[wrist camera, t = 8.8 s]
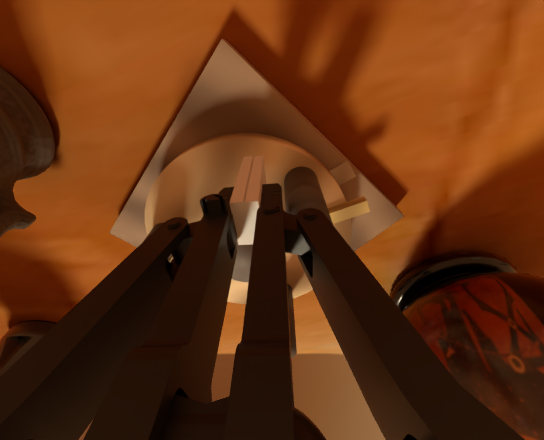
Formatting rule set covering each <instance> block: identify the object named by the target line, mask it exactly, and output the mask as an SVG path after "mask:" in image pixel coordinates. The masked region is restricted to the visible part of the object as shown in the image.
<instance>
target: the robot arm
mask: <svg viewBox="0 0 544 440" xmlns="http://www.w3.org/2000/svg"><path fill="white" fill-rule="evenodd" d="M200 205H201V208H202V211H203V217H202V219H201V220H200V221H197V222H193V223H188V221H187V219H186V218H183V217H175V218H171V219H169V220H167V221H166V222H164V223H163V224H162V225H161V226H160V227H158V228H157V229H156V230H155V231H154V232H153V233H152V234H151V235H150V236H149V237H148V238H147V239H146V240H145V241H144V242H143V243H142V244H140V245H139V246H138V247H137V248H136V249H135V250H134V251H133V252H132V253H131V254H130V255H129V256H128V257H127V258H126V259H125V260H124V261H122V262H121V263H120V264H119V265H118V266H117V267H116V268H115V269H114V270H113V271H112V272H111V273H110V274H109V275H108V276H107V277H105V278H104V279H103V280H102V281H101V282H100V283H99V284H98V285H97V286H96V287H95V288H94V289H93V290H92V291H91V292H90V293H89V294H87V295H86V296H85V297H84V298H83V299H82V300H81V301H80V302H79V303H78V304H77V305H76V306H75V307H74V308H73V309H72V310H71V311H69V312H68V313H67V314H66V315H65V316H64V317H63V318H62V319H61V320H60V321H59V322H58V323H57V324H55V323H50V322H43V321H26V322H21V323H18V324H16V325H14V326H13V327H12V328H11V329H10V330H9V331H8V332H7V333H6V334H5V335H4V336H3V337H2V338H1V340H0V440H78V439H79V438H80V436H81V435H82V434H83V432H84V431H85V430H86V428H87V427H88V425H89V424H90V423H91V421H92V420H93V421H92V423H91V425H90V428H89V429H88V431H87V433H86V435H85V437H84V439H83V440H326V439H325V437H324V436H323V434H322V433H321V432H320V430H319V429H318V428H317V427H316V425H315V424H314V423H313V422H312V421H311V420H310V419H309V418H308V417H307V416H306V415H305V414H304V413H302V412H301V411H299V410H298V409H296V408H295V407H294V396H293V380H292V362H291V343H290V325H289V306H288V288H287V270H286V253H291V254H296V255H298V259H299V261H300V263H301V265H302V267H303V270H304V272H305V274H306V276H307V278H308V280H309V282H310V284H311V286H312V288H313V291H314V293H315V295H316V297H317V299H318V301H319V303H320V305H321V307H322V309H323V312H324V314H325V316H326V318H327V320H328V322H329V324H330V326H331V328H332V331H333V333H334V335H335V337H336V339H337V341H338V343H339V345H340V347H341V349H342V352H343V354H344V356H345V358H346V360H347V361H348V364H349V366H350V368H351V370H352V372H353V375H354V377H355V379H356V381H357V383H358V385H359V387H360V389H361V391H362V394H363V396H364V398H365V400H366V402H367V404H368V406H369V408H370V410H371V412H372V414H373V416H374V418H375V420H376V422H377V424H378V426H379V428H380V430H381V432H382V433H383V435H384V437H385V439H386V440H525V439H524V438H523V437H521V436H520V435H519V434H518V433H517V432H516V431H514V430H513V429H512V428H511V427H510V426H508V425H507V424H506V423H505V422H504V421H502V420H501V419H500V418H499V417H498V416H496V415H495V414H494V413H493V412H492V411H490V410H489V409H488V408H487V407H486V406H485V405H483V404H482V403H481V402H480V401H479V400H477V399H476V398H475V397H474V396H473V395H471V394H470V393H469V392H468V391H467V390H465V389H464V388H463V387H462V386H461V385H459V384H458V382H457V381H456V380H455V378H454V377H453V376H452V375H451V373H450V372H449V371H448V370H447V368H446V367H445V366H444V365H443V363H442V362H441V361H440V360H439V358H438V357H437V356H436V354H435V353H434V352H433V351H432V349H431V348H430V347H429V346H428V344H427V343H426V342H425V341H424V339H423V338H422V337H421V336H420V334H419V333H418V332H417V330H416V329H415V328H414V327H413V325H412V324H411V323H410V322H409V320H408V319H407V318H406V317H405V315H404V314H403V313H402V312H401V310H400V309H399V308H398V306H397V305H396V304H395V303H394V301H393V300H392V299H391V298H390V296H389V295H388V294H387V293H386V291H385V290H384V289H383V288H382V286H381V285H380V284H379V282H378V281H377V280H376V279H375V277H374V276H373V275H372V274H371V272H370V271H369V270H368V269H367V267H366V266H365V265H364V264H363V262H362V261H361V260H360V258H359V257H358V256H357V255H356V253H355V252H354V251H353V250H352V248H351V247H350V246H349V245H348V243H347V242H346V241H345V240H344V238H343V237H342V236H341V234H340V233H339V232H338V231H337V229H336V228H335V227H334V226H333V224H332V223H331V222H330V221H329V219H328V218H327V217H326V216H325V214H324V213H323V212H322V211H321V210H318V209H315V208H305V209H302V210H300V211H299V212H298V213H297V215H293V214H289V213H287V212H285V211H284V210H283V201H282V187H281V186H280V185H279V184H278V183H273V184H266V174H265V165H264V155H260V156H247V157H244V158H243V161H242V164H241V168H240V171H239V174H238V177H237V180H236V183H235V187H225V188H223V189H222V190H221V191H219V194H210V195H207V196H205V197H203V198H201V200H200ZM236 240H237V241H238V245H250V244H253V248H252V257H251V265H250V274H249V282H248V291H247V299H246V308H245V316H244V325H243V333H242V340H241V343H239V344H238V345H237V348H236V353H235V359H234V367H233V374H232V381H231V388H230V396H229V397H226V398H223V399H220V400H217V401H214V402H212V394H211V383H212V377H213V372H214V367H215V362H216V357H217V351H218V346H219V341H220V336H221V331H222V326H223V321H224V316H225V311H226V306H227V300H228V295H229V290H230V285H231V280H232V275H233V270H234V265H235V260H236V255H237V247H236ZM170 255H172V257H173V259H172V260H171V261H170V262H169V261H168V259H167V258H168V257H169V256H170Z"/></svg>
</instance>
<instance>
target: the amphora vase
mask: <svg viewBox="0 0 544 440" xmlns="http://www.w3.org/2000/svg"><path fill="white" fill-rule="evenodd" d="M390 298H391V299H392V300H393V301H394V303H395V304H396V305H397V306H398V308H399V309H400V310H401V312H402V313H403V314H404V315H405V317H406V318H407V319H408V320H409V322H410V323H411V324H412V325H413V327H414V328H415V329H416V330H417V332H418V333H419V334H420V336H421V337H422V338H423V339H424V341H425V342H426V343H427V344H428V346H429V347H430V348H431V349H432V351H433V352H434V353H435V354H436V356H437V357H438V358H439V360H440V361H441V362H442V363H443V365H444V366H445V367H446V368H447V370H448V371H449V372H450V373H451V375H452V376H453V377H454V378H455V380H456V381H457V382H458V384H459V385H461V386H462V387H463V388H464V389H465V390H467V391H468V392H469V393H470V394H471V395H473V396H474V397H475V398H476V399H477V400H479V401H480V402H481V403H482V404H483V405H485V406H486V407H487V408H488V409H489V410H490V411H492V412H493V413H494V414H495V415H496V416H498V417H499V418H500V419H501V420H502V421H504V422H505V423H506V424H507V425H508V426H510V427H511V428H512V429H513V430H514V431H516V432H517V433H518V434H519V435H520V436H521V437H523V438H524V439H525V440H544V278H541V277H537V276H533V275H529V274H520V273H518V270H517V268H516V267H515V266H513V265H512V264H511V263H510V262H509V261H508V260H506V259H505V258H503V257H500V256H497V255H494V254H492V253H482V252H461V253H452V254H449V255H445V256H441V257H437V258H434V259H432V260H430V261H428V262H425V263H423V264H421V265H419V266H417V267H416V268H414V269H413V270H411V271H410V272H408V273H407V274H406V275H405V276H404V277H403V278H402V279H401V280H400V281H399V282H398V283H397V284H396V285H395V287H394V289H393V291H392V292H391V294H390Z"/></svg>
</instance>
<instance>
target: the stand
mask: <svg viewBox="0 0 544 440" xmlns="http://www.w3.org/2000/svg"><path fill="white" fill-rule="evenodd" d="M231 133H259V134H264V135H270V136H274V137H277V138H280V139H284V140H287V141H289V142H291V143H293V144H295V145H297V146H300V147H302V148H303V149H305V150H306V151H308V152H309V153H311V154H312V155H314V156H315V157H316V158H317V159H318V160H319V161H320V162H322V163H323V164H324V165H325V167H326V168H327V169H328V170H329V171H330V172H331V174H332V175H333V177H334V178H335V180H336V182H337V183H338V185H339V187H340V189H341V191H342V193H343V195H344V197H345V200H346V202H348V201H351V200H354V199H357V198H360V197H363V196H364V197H365V198H366V200H367V202H368V206H369V210H370V212H368V213H365V214H362V215H359V216H356V217H353V218H351V226H352V232H351V240H350V244H349V246H350V247H351V248H352V250H353V251H356V250H357V249H358V248H360V247H361V246H363V245H364V244H365V243H367V242H368V241H370V240H371V239H373V238H374V237H375V236H377V235H378V234H380V233H381V232H382V231H384V230H385V229H387V228H388V227H390V226H391V225H392V224H394V223H395V222H397V221H398V220H399V219H401V218H402V217H404V215H403V214H402V213H401V211H400V210H399V209H398V208H397V206H396V205H395V204H394V203H393V202H391V201H390V200H389V199H388V198H387V197H386V196H385V195H384V194H383V193H382V192H381V191H380V190H379V189H378V188H377V187H376V186H375V185H374V184H373V183H372V182H371V181H370V180H369V179H368V178H367V177H366V176H365V175H364V174H363V173H362V172H361V171H360V170H359V169H358V168H357V167H356V166H355V165H354V164H353V163H352V162H351V161H350V160H349V159H348V158H347V157H346V156H344V155H343V154H342V153H341V152H340V151H339V150H338V149H337V148H336V147H335V146H334V145H333V144H332V143H331V142H330V141H329V140H328V139H327V138H326V137H325V136H324V135H323V134H322V133H321V132H320V131H319V130H318V129H317V128H316V127H315V126H314V125H313V124H312V123H311V122H310V121H309V120H308V119H307V118H306V117H305V116H304V115H303V114H302V113H301V112H300V111H298V110H297V109H296V108H295V107H294V106H293V105H292V104H291V103H290V102H289V101H288V100H287V99H286V98H285V97H284V96H283V95H282V94H281V93H280V92H279V91H278V90H277V89H276V88H275V87H274V86H273V85H272V84H271V83H270V82H269V81H268V80H267V79H266V78H265V77H264V76H263V75H262V74H261V73H260V72H259V71H258V70H257V69H256V68H255V67H254V66H253V65H251V64H250V63H249V62H248V61H247V60H246V59H245V58H244V57H243V56H242V55H241V54H240V53H239V52H238V51H237V50H236V49H235V48H234V47H233V46H232V45H231V44H230V43H229V42H228V41H227V40H225V39H221V41H220V43H219V44H218V46H217V48H216V50H215V51H214V53H213V55H212V56H211V58H210V60H209V62H208V63H207V65H206V67H205V69H204V70H203V72H202V74H201V75H200V77H199V79H198V81H197V82H196V84H195V86H194V88H193V89H192V91H191V93H190V94H189V96H188V98H187V100H186V101H185V103H184V105H183V107H182V108H181V110H180V112H179V113H178V115H177V117H176V119H175V120H174V122H173V124H172V126H171V127H170V129H169V131H168V132H167V134H166V136H165V138H164V139H163V141H162V143H161V145H160V146H159V148H158V150H157V151H156V153H155V155H154V157H153V158H152V160H151V162H150V164H149V165H148V167H147V169H146V170H145V172H144V174H143V176H142V177H141V179H140V181H139V183H138V184H137V186H136V188H135V189H134V191H133V193H132V195H131V196H130V198H129V200H128V202H127V203H126V205H125V207H124V208H123V210H122V212H121V214H120V215H119V217H118V219H117V220H116V222H115V224H114V226H113V227H112V229H111V231H110V233H111V234H112V235H114V236H116V237H118V238H120V239H122V240H124V241H126V242H128V243H130V244H132V245H134V246H136V247H138V246H139V245H140V244H142V242H143V241H144V240H145V238H146V237H147V233H146V227H145V206H146V201H147V197H148V194H149V192H150V189H151V187H152V185H153V184H154V182H155V180H156V179H157V177H158V176H159V175H160V174H161V172H162V171H163V170H164V169H165V168H166V167H167V166H168V165H169V164H170V163H171V162H172V161H173V160H174V159H175V158H176V157H177V156H178V155H180V154H181V153H182V152H183V151H185V150H186V149H188V148H189V147H191V146H193V145H194V144H196V143H198V142H201V141H203V140H206V139H208V138H211V137H215V136H219V135H223V134H231Z"/></svg>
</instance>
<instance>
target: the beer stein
mask: <svg viewBox="0 0 544 440" xmlns="http://www.w3.org/2000/svg"><path fill="white" fill-rule="evenodd" d="M54 155H55V142H54V137H53V132H52V129H51V126H50V123H49V121H48V119H47V117H46V115H45V114H44V112H43V110H42V109H41V108H40V106H39V105H38V104H37V102H36V101H35V100H34V98H33V97H32V96H31V95H30V93H29V92H28V91H27V90H26V89H25V88H24V87H23V86H22V85H21V84H20V83H19V82H18V81H17V80H16V79H15V78H13V77H12V76H11V75H10V74H8V73H7V72H6V71H4V70H3V69H2V68H0V237H1V236H2V235H3V234H4V233H5V232H6V231H8V230H11V229H24V228H26V227H28V226H29V225H31V224H32V223H33V222H34V221H35V219H36V216H35V215H34V214H32V213H30V212H28V211H26V210H25V209H23V208H22V207H21V206H20V205H19V204H18V203H17V202H16V201H15V198H14V194H13V186H14V183H15V182H16V181H17V180H21V179H26V178H31V177H34V176H37V175H39V174H41V173H42V172H44V171H45V170H46V169H47V168H48V167H49V166H50V164H51V162H52V160H53V158H54Z"/></svg>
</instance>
